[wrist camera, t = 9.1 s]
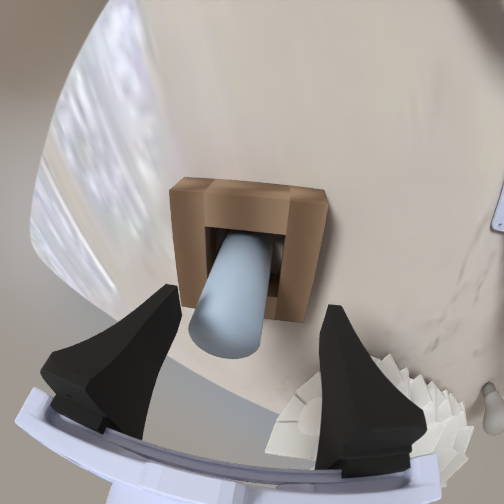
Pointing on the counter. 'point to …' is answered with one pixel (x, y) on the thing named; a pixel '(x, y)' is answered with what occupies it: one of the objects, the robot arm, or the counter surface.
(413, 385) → the spiral staircase
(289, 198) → the socket block
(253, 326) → the peg
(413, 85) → the counter surface
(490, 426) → the lightbulb
